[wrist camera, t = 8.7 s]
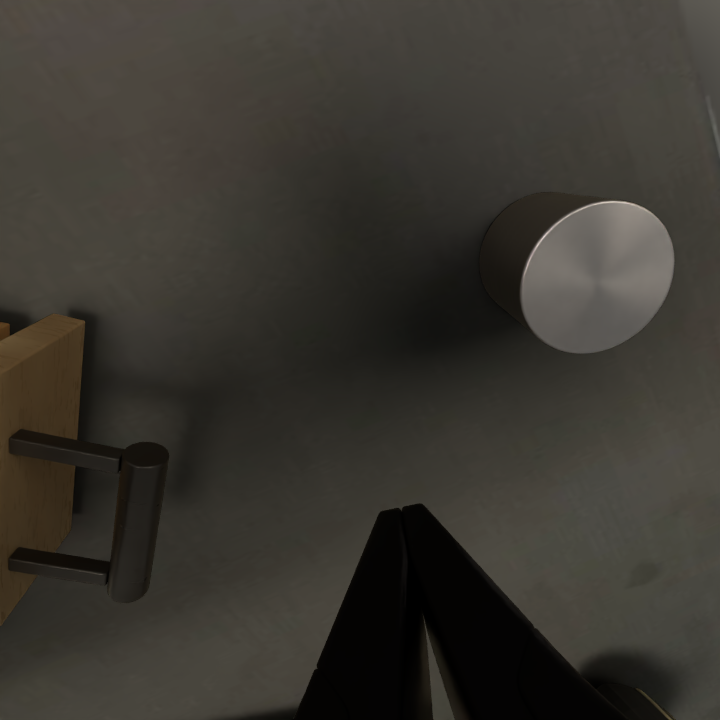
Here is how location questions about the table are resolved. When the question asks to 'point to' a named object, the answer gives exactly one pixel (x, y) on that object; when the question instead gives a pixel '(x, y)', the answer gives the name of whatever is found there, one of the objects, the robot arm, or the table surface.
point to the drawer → (64, 471)
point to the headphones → (633, 702)
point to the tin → (578, 268)
